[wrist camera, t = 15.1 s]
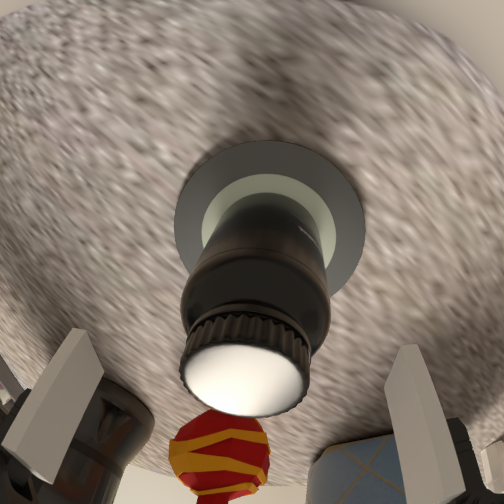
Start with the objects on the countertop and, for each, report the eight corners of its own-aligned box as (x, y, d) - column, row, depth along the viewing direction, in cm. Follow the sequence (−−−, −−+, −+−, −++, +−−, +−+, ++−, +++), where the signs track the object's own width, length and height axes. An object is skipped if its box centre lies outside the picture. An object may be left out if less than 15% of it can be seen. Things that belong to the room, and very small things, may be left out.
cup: (471, 456, 39) (481, 503, 30) (495, 438, 36) (509, 487, 26) (488, 455, 40) (499, 497, 30) (511, 437, 36) (525, 481, 27)
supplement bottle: (338, 216, 20) (380, 360, 9) (290, 294, 23) (285, 444, 13) (238, 170, 19) (177, 283, 9) (202, 257, 22) (141, 397, 12)
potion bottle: (247, 369, 29) (223, 519, 16) (292, 420, 33) (284, 540, 20) (165, 388, 32) (124, 507, 19) (216, 432, 36) (194, 536, 23)
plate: (188, 305, 26) (185, 310, 25) (167, 143, 19) (163, 145, 19) (349, 312, 24) (350, 318, 24) (373, 146, 18) (375, 147, 17)
